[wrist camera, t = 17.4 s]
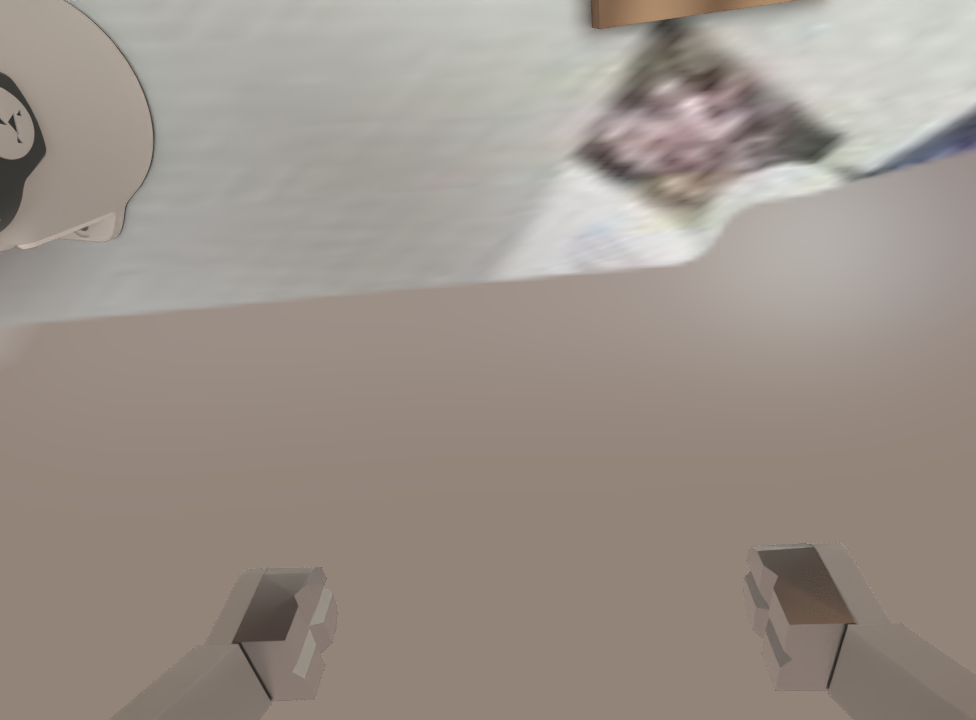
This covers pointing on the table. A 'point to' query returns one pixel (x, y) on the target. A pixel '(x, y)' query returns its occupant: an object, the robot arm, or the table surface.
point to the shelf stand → (660, 9)
